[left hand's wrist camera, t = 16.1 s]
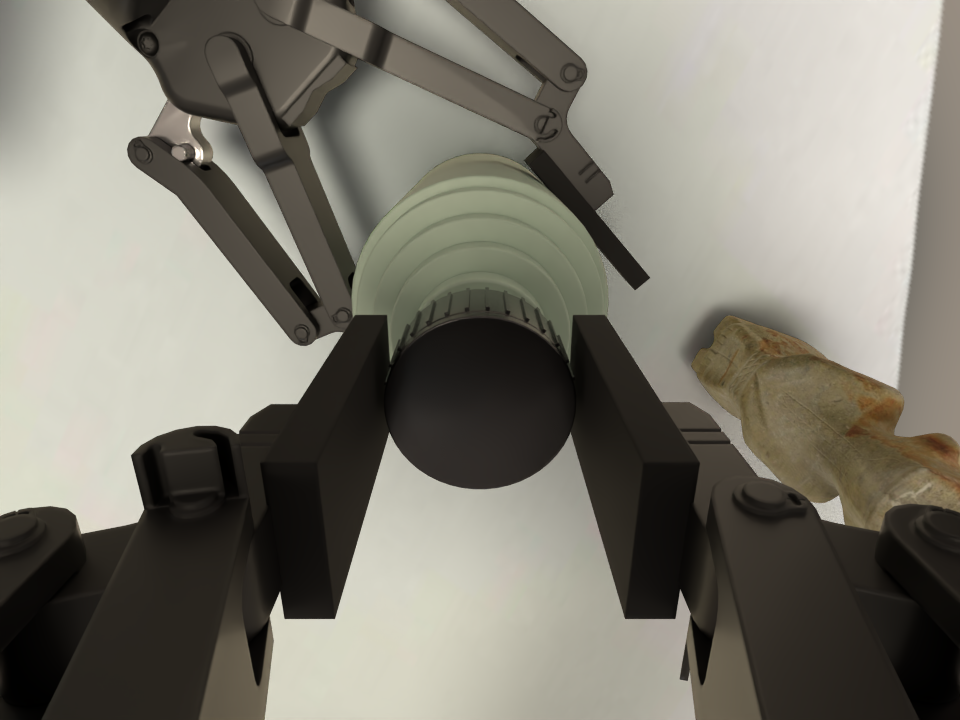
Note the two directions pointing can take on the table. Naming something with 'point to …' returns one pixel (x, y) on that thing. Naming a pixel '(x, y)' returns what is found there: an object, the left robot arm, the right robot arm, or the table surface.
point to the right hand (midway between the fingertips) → (552, 342)
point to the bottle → (479, 247)
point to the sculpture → (825, 425)
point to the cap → (480, 390)
